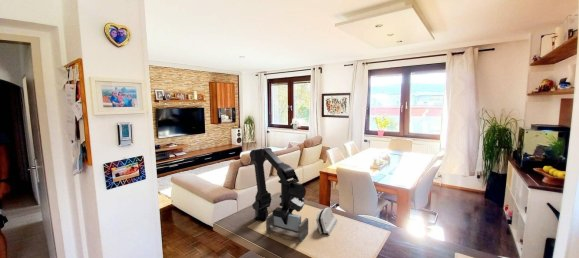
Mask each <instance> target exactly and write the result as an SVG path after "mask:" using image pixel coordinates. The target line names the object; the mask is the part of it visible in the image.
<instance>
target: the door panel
mask: <svg viewBox="0 0 579 258" xmlns="http://www.w3.org/2000/svg"><path fill="white" fill-rule="evenodd" d="M301 223H302V215H300V214H295V213H292V214H291V213H290V214H289V215H288V220H287V225H285V224H284V222H283V220H282V218H280V217H276V216H274V225H276V226H280V227H283V228H287V229H291V230H295V231H298V226H299V225H300V224H301Z"/></svg>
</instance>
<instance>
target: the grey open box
mask: <svg viewBox="0 0 579 258" xmlns="http://www.w3.org/2000/svg"><path fill="white" fill-rule="evenodd" d="M265 228H266V229H265V230H266V231H265V232H266V234H269V235H271V236H276V237H278V238H279V237H280V238H282V239H285V240H289V241H293V242H296V243H300V244H301V243H302V242H303V241H304V239H305V238H306V237H307V236H308V234H309V218H308V217H305V218H304V219H303V221H301V224H300V225H299V226H298V231H295V230H291V229H287V228H283V227H280V226H276V225H274V216H273V215H272V213H270V214H268V217H266V220H265Z"/></svg>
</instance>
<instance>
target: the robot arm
mask: <svg viewBox="0 0 579 258" xmlns="http://www.w3.org/2000/svg"><path fill="white" fill-rule="evenodd" d="M249 157H250V162H251V164H253V167H254V172H255V180H256V188H257V191H256V193H255V197H254V198H255V200H254V202H253V203H252V204H251V205H252V210H254V211H255V213H254V217H253V220H255V221H259V222H264V221H265V222H266V217H268V216H269V210H268V208H270V207H271V203H272V201H273V200H272V196H271V195H272V194H271V193H270V192H268V190H267V184H266V176H265V168H264V163H265V161H266V160H267V161H268V162H269V163H270V165H271V166H272V167H273V168H274V169H275V171H276V175H277V177H278V179H279V180H278V182H277V183H279V184H280V195H279V198H280V203H279V206H280V207H279V206H277V207H276V208H274V209H273V210H272V211H271V212H272V213H271V214H272V215H273V216H276V217H280V218H282V220H283V222H284V224H285V225H287V220H288V215H289V214H290V213H291V214H293V212H294V211H295V212H297V213H298V212H300V211H302V210H303V208H304V206H305V199H304V197H305V196H306V193H307V190H306V188H305V186H304V185H303V183H299V182H300V180H299V177H298V176H297V174H296V171H295V169H294V167H291V165H289V164H287V163H284V162H283V161H282V160H281V159H280V158H279V157H278V156H277V155H276V153H274V152H273V150H272V148H270V147H264V148H255V149H251V150H250V151H249Z"/></svg>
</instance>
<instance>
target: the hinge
mask: <svg viewBox="0 0 579 258" xmlns="http://www.w3.org/2000/svg"><path fill="white" fill-rule="evenodd" d="M337 223H338V218H337V217H336V216H334V213H333V211H332V208H331V207H325V208H322V209H320V210H319V212H318V214H317V216H316V225H317V229H318V232H319V234H320V235H321V234H327V235H328V236H330V235H331V234H332V232H333V230H334V228H335V226H336V225H337Z"/></svg>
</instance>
